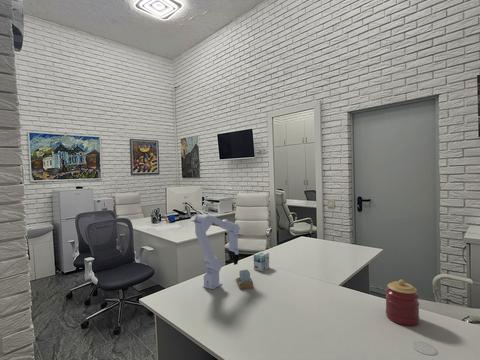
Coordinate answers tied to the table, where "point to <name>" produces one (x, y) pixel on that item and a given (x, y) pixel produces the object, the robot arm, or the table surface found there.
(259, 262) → the light bulb box
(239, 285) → the walnut block
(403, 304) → the canister
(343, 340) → the table surface
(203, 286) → the robot arm
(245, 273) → the slate cube
